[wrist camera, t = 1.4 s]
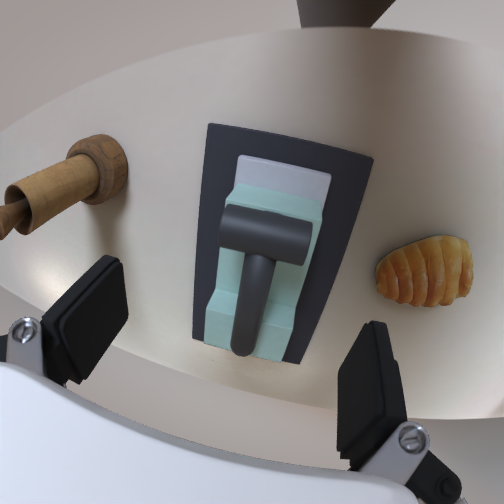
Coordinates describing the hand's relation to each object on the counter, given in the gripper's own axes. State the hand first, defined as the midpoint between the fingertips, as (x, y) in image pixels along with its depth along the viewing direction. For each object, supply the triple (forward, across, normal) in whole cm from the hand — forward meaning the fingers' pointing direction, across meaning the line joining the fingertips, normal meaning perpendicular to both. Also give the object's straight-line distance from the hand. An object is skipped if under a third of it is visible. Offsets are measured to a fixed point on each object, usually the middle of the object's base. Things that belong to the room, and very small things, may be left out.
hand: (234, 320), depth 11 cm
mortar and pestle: (+16, +17, +1) cm, 23 cm away
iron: (+15, 0, +4) cm, 15 cm away
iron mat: (+16, 0, +7) cm, 17 cm away
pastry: (+16, -15, +3) cm, 22 cm away
